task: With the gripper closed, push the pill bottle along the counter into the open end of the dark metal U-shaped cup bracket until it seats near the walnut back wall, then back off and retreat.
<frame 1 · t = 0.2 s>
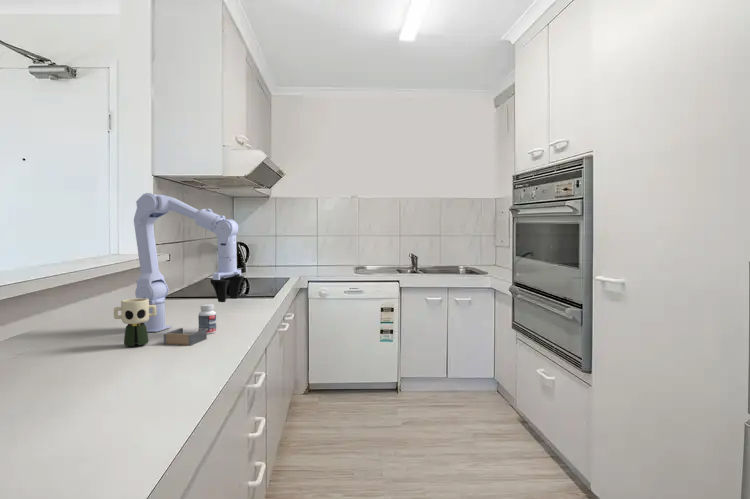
hand: (228, 300, 159), 10 cm above the worktop, fingers open, 7 cm apart
pill bottle: (207, 333, 158), on the worktop
character mug: (136, 346, 142), on the worktop
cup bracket: (185, 341, 146), on the worktop
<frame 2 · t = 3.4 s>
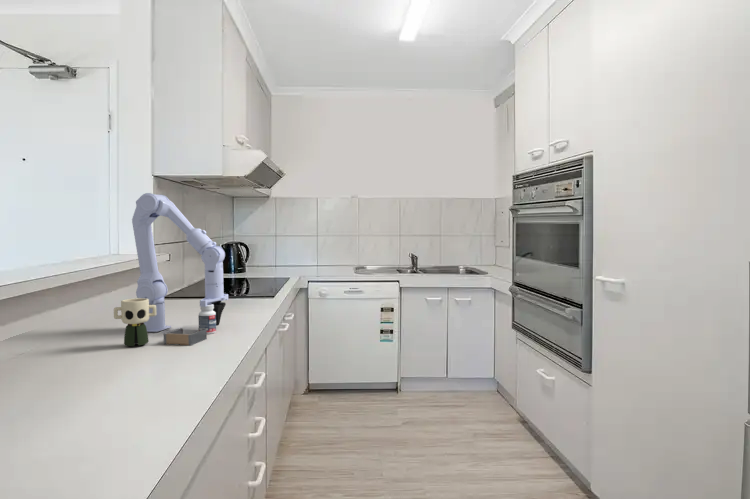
hand: (215, 325, 162), 1 cm above the worktop, fingers closed
pill bottle: (207, 333, 158), on the worktop, touching gripper
everything else where it was.
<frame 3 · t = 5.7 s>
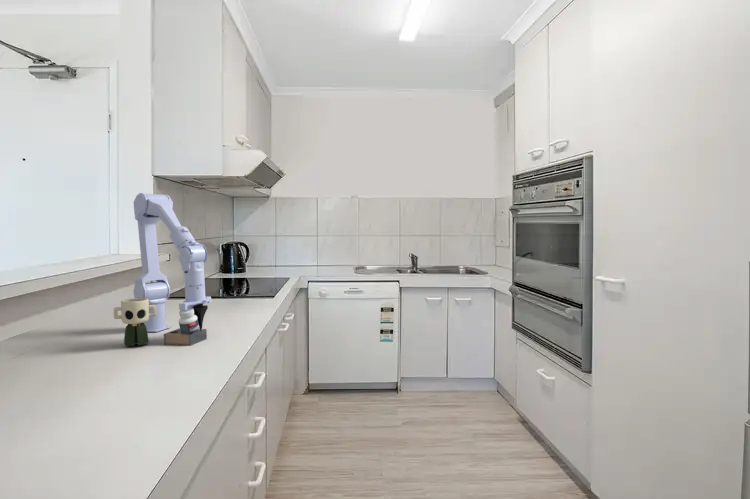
hand: (197, 330, 150), 2 cm above the worktop, fingers closed, pressing on pill bottle
pill bottle: (192, 338, 148), on the worktop, touching gripper
everything else where it was.
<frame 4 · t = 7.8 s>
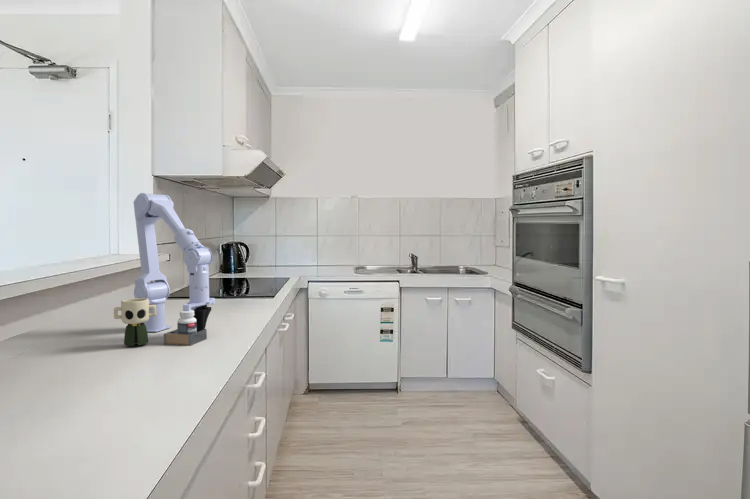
hand: (200, 331, 154), 1 cm above the worktop, fingers closed
pill bottle: (187, 341, 146), on the worktop
everything else where it was.
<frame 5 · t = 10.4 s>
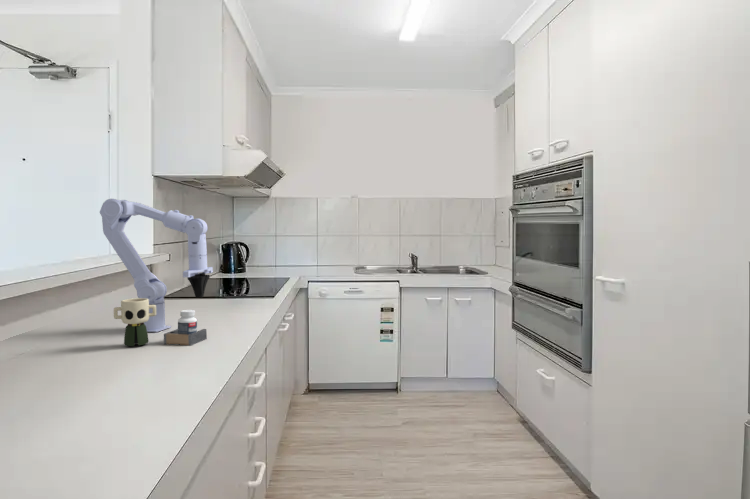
hand: (199, 297, 163), 10 cm above the worktop, fingers closed
nothing on the worktop moved.
at the end: pill bottle 0.4 cm off-centre on the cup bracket, point 0.0 cm above the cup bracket's base; pill bottle tilted 2° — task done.
